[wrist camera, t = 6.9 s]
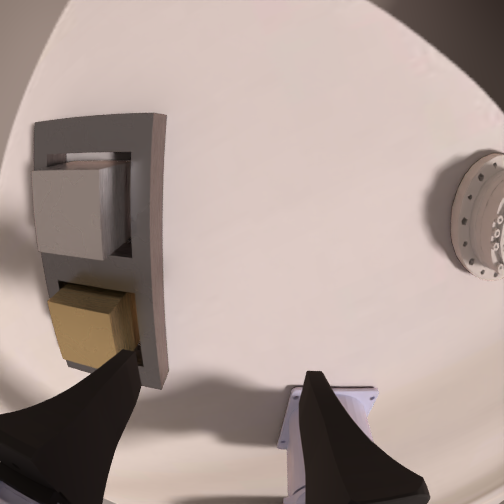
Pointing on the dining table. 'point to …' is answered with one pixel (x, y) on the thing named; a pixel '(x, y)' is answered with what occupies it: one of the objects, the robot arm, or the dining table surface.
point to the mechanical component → (481, 219)
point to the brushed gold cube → (93, 323)
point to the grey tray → (142, 224)
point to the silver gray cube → (82, 207)
